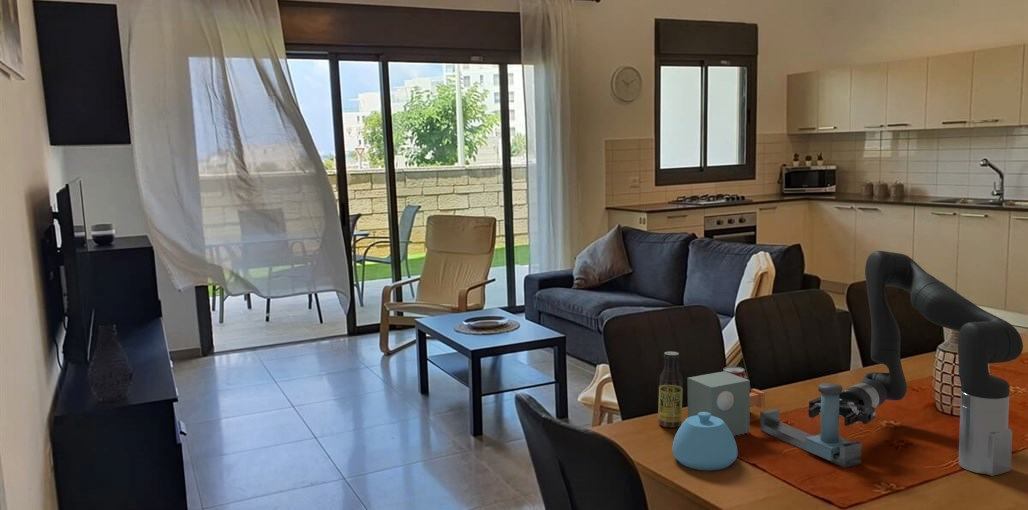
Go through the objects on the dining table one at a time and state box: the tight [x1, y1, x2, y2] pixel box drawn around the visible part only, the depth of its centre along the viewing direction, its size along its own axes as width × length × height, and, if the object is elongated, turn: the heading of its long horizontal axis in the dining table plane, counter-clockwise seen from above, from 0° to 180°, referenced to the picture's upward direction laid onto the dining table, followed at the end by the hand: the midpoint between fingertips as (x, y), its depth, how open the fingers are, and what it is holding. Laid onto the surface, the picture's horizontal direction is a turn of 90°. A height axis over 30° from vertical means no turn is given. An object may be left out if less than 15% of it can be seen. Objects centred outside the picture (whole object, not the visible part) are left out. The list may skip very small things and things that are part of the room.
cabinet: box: [686, 370, 751, 437], centre depth 203 cm, size 11×12×14 cm
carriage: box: [804, 382, 851, 462], centre depth 184 cm, size 8×7×16 cm
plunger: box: [750, 388, 766, 409], centre depth 203 cm, size 4×8×4 cm, turn 113°
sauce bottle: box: [657, 351, 684, 429], centre depth 209 cm, size 7×6×20 cm
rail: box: [759, 408, 862, 469], centre depth 191 cm, size 28×5×5 cm, turn 23°
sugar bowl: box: [671, 412, 738, 471], centre depth 185 cm, size 15×15×12 cm
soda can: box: [723, 365, 748, 380], centre depth 219 cm, size 7×7×12 cm
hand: (828, 417), depth 183 cm, fingers open, 8 cm apart
